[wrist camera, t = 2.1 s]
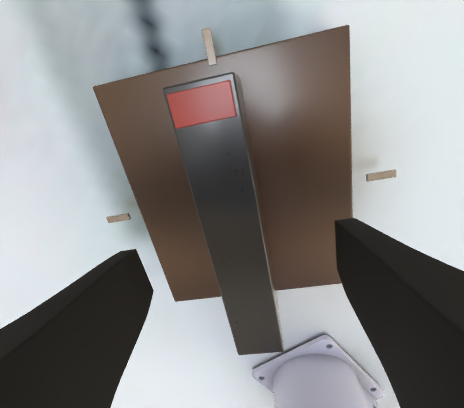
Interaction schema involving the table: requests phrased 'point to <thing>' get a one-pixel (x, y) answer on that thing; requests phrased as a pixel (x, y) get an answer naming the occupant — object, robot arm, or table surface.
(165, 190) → the base
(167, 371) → the table surface
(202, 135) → the red tipped gray strip
